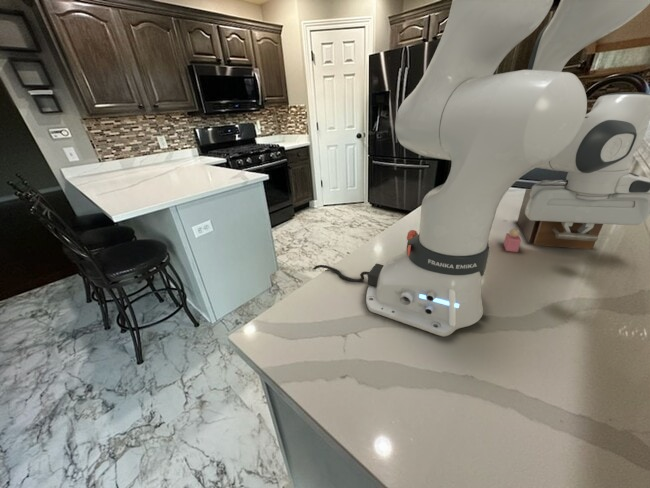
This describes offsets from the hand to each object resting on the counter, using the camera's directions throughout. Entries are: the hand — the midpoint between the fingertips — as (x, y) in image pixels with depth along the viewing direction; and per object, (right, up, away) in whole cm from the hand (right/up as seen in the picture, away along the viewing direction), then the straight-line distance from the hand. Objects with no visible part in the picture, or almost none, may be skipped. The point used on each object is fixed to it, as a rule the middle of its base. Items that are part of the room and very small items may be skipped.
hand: (571, 238), depth 61 cm
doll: (-9, -2, +7) cm, 12 cm away
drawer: (+3, 0, +7) cm, 8 cm away
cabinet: (+5, +2, +12) cm, 13 cm away
